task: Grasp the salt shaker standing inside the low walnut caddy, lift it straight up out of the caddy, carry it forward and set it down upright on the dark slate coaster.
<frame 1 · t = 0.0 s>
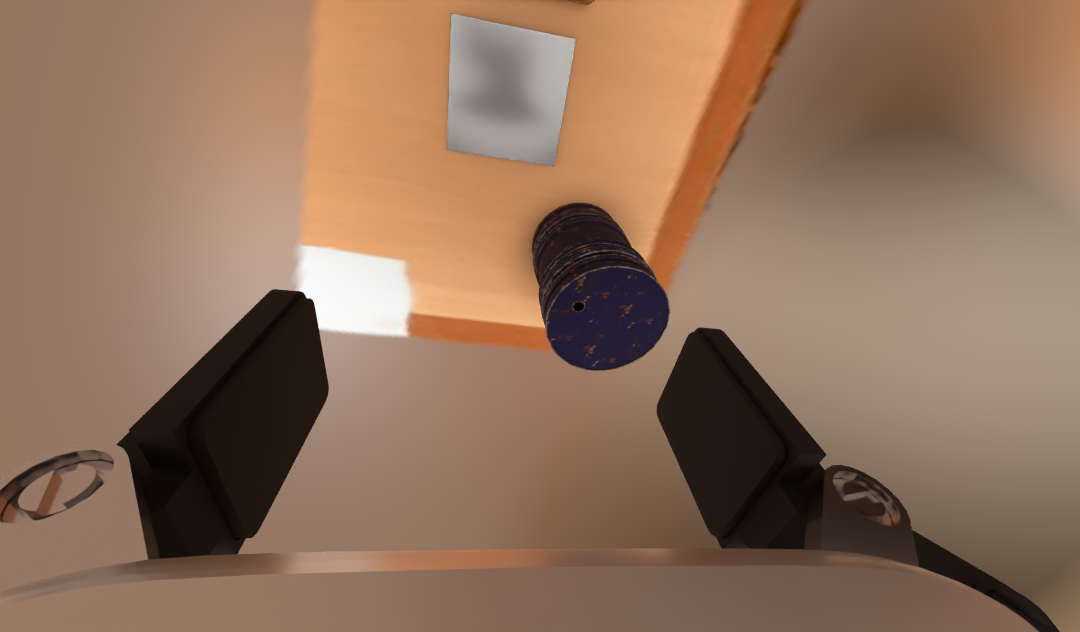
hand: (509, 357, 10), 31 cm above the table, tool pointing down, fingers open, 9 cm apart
coaster: (507, 97, 34), on the table
dark blue cylinder: (575, 246, 42), on the table
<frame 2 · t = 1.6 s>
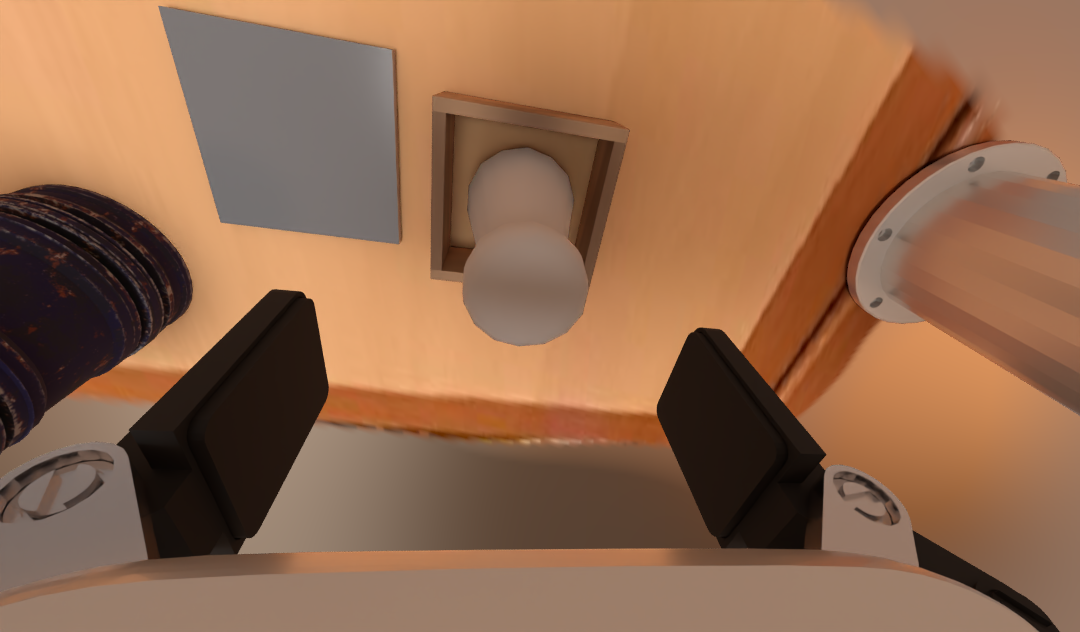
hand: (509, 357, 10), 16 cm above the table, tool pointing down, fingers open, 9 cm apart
caddy: (520, 192, 23), on the table
coaster: (303, 142, 21), on the table
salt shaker: (520, 191, 23), resting in caddy
dark blue cylinder: (106, 262, 24), on the table
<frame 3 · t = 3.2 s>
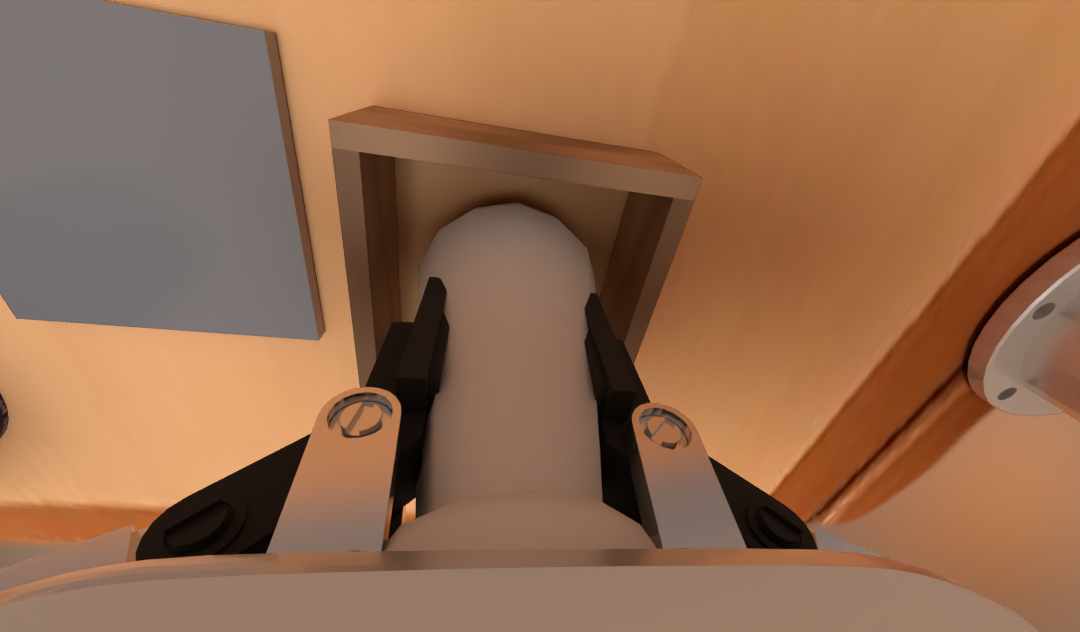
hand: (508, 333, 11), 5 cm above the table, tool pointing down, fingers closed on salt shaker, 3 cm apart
caddy: (506, 261, 15), on the table
coaster: (136, 191, 12), on the table
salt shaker: (507, 259, 15), resting in caddy, touching gripper
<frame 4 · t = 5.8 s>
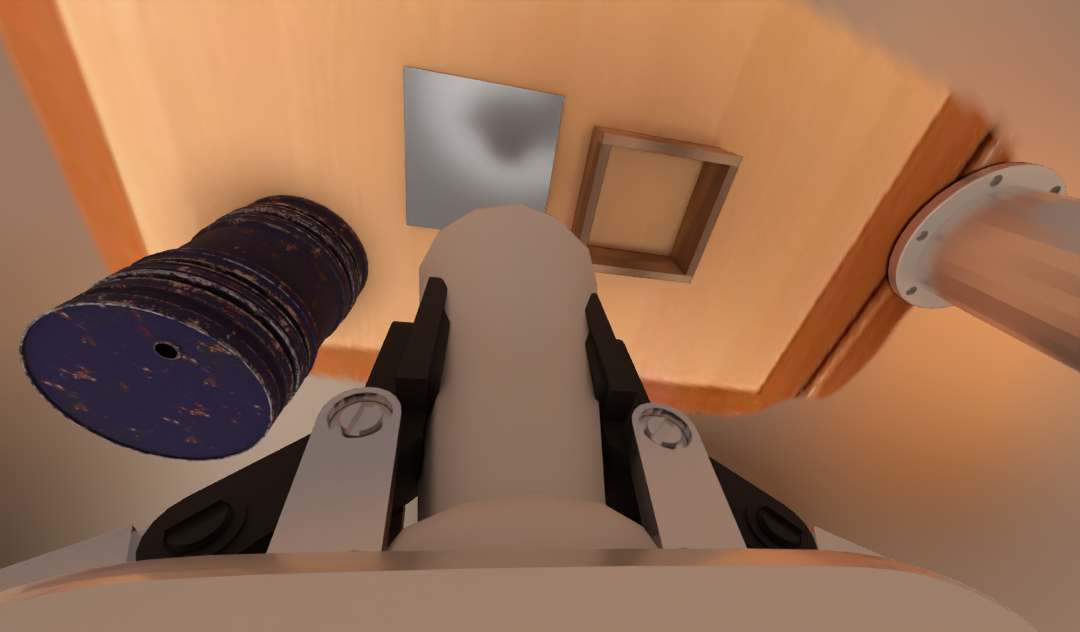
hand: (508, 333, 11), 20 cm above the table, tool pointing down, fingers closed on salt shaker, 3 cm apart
caddy: (638, 201, 29), on the table
coaster: (480, 163, 27), on the table
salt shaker: (507, 260, 15), point 15 cm above the table, touching gripper
dark blue cylinder: (304, 256, 30), on the table
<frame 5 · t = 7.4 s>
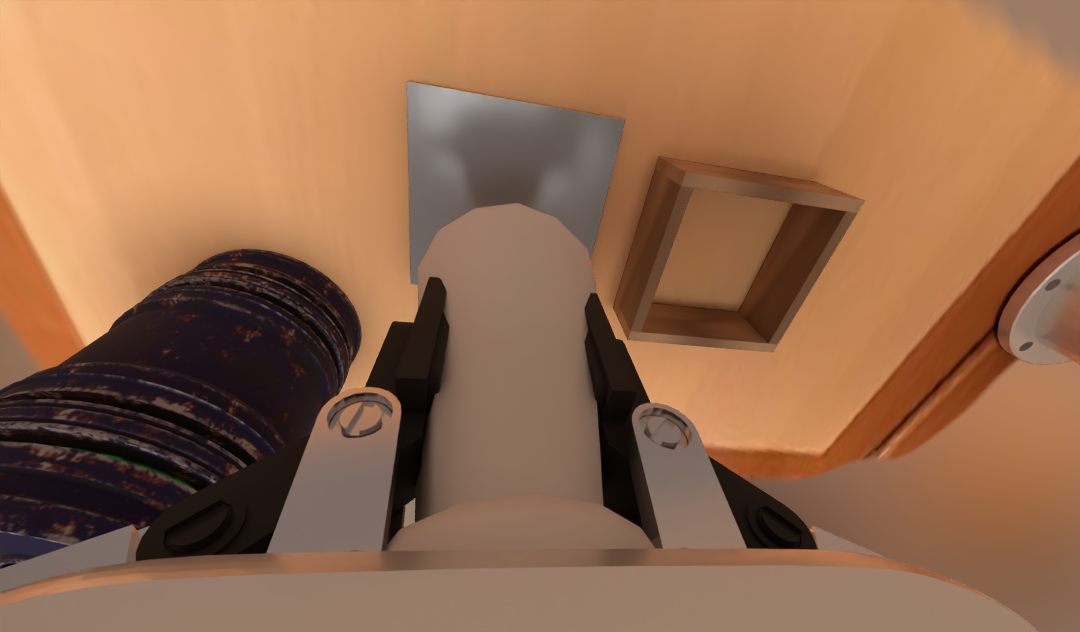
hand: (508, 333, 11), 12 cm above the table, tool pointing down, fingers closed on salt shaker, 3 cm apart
caddy: (706, 249, 23), on the table
coaster: (507, 206, 21), on the table
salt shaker: (506, 260, 15), point 7 cm above the table, touching gripper
dark blue cylinder: (279, 321, 24), on the table
when the fingers open (6 cm above the table, at t = 8.7 s): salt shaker stays where it is, resting on coaster.
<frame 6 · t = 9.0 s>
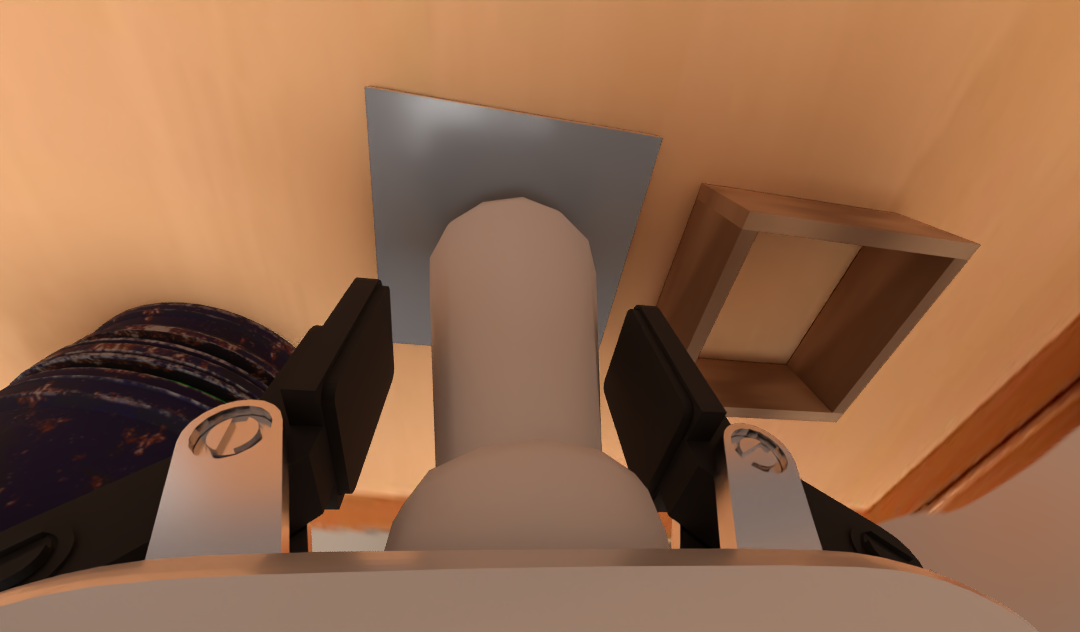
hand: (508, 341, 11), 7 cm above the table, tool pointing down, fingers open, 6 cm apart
caddy: (754, 294, 18), on the table
coaster: (505, 246, 16), on the table
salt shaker: (511, 251, 16), resting on coaster
dark blue cylinder: (220, 384, 19), on the table
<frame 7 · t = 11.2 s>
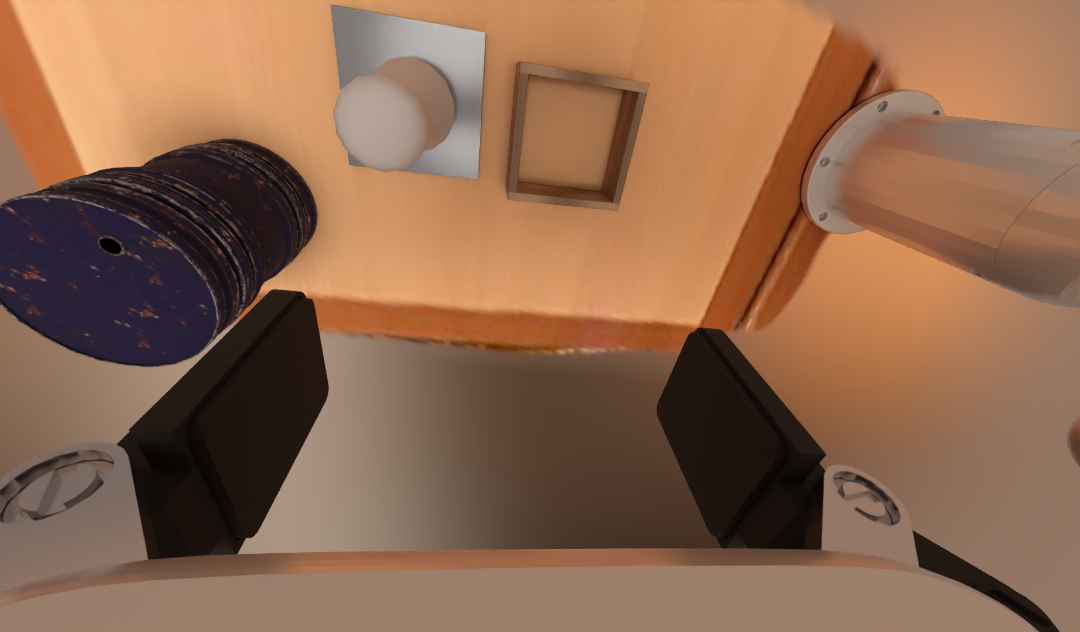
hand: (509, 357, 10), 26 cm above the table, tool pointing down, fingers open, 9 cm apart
caddy: (566, 137, 32), on the table
coaster: (414, 102, 29), on the table
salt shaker: (417, 103, 29), resting on coaster
dark blue cylinder: (253, 202, 32), on the table
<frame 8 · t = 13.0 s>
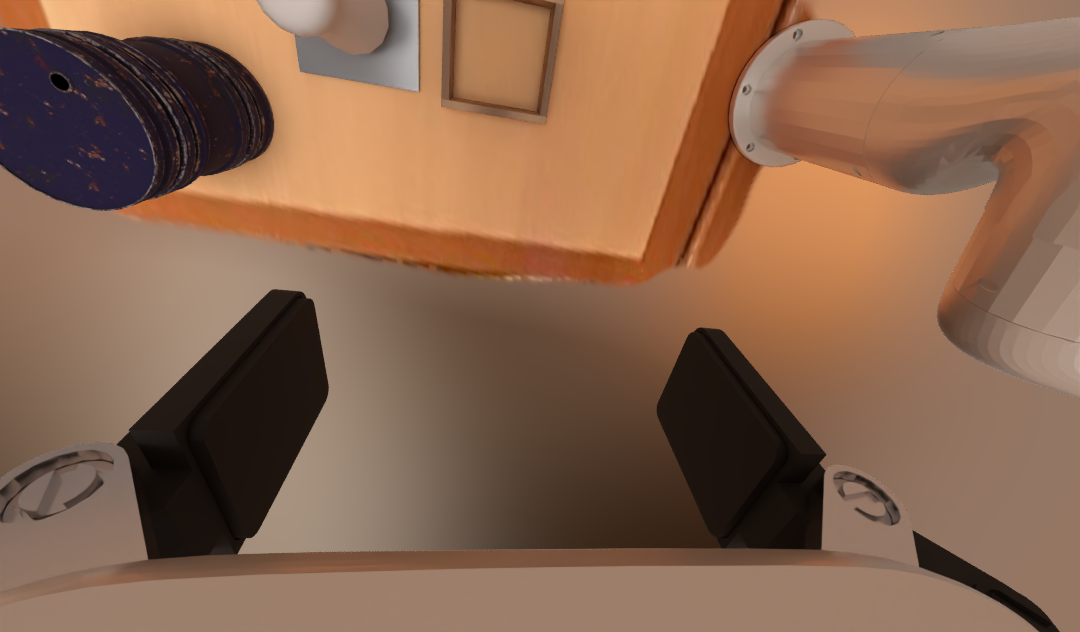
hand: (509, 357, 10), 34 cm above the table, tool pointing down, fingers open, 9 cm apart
caddy: (499, 54, 35), on the table
coaster: (357, 12, 32), on the table
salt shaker: (359, 13, 32), resting on coaster
dark blue cylinder: (216, 106, 35), on the table
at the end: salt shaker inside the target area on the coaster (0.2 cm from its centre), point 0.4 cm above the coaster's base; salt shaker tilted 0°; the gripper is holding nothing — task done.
